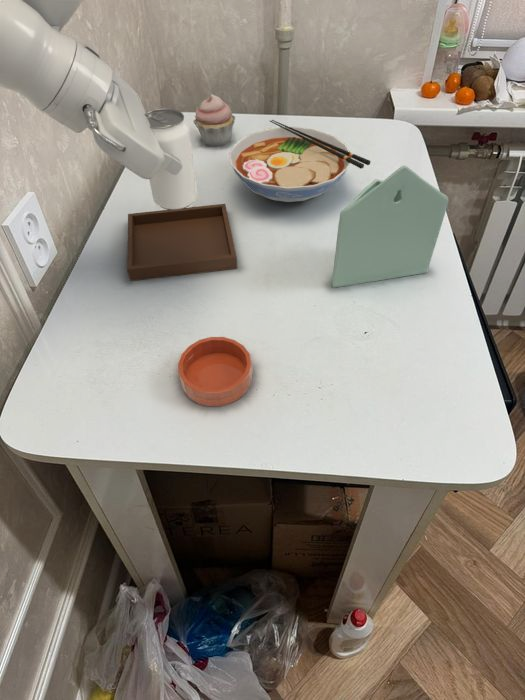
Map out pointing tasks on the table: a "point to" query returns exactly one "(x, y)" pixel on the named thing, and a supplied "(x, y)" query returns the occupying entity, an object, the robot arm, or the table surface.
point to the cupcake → (214, 121)
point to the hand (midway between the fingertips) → (172, 154)
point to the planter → (388, 230)
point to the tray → (179, 242)
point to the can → (176, 141)
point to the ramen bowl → (291, 162)
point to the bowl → (215, 371)
